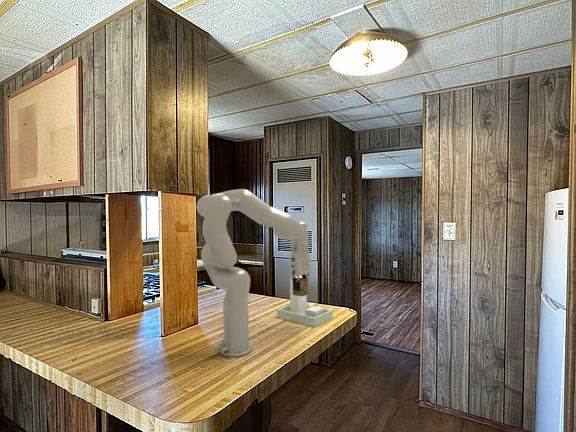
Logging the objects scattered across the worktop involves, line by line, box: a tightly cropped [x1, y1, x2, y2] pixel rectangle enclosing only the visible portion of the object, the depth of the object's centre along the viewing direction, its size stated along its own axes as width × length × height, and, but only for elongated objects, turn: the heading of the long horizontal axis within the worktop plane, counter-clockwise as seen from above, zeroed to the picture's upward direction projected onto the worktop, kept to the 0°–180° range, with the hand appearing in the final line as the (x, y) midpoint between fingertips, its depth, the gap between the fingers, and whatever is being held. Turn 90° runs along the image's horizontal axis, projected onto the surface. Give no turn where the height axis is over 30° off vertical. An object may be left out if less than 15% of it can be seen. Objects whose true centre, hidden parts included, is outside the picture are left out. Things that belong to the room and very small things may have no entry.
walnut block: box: [293, 277, 309, 297], centre depth 150 cm, size 5×5×7 cm
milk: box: [289, 274, 308, 315], centre depth 167 cm, size 6×6×22 cm
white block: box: [305, 305, 325, 317], centre depth 159 cm, size 7×6×6 cm
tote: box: [276, 304, 334, 328], centre depth 164 cm, size 15×23×4 cm, turn 50°
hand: (300, 288), depth 150 cm, fingers closed on walnut block, 4 cm apart
